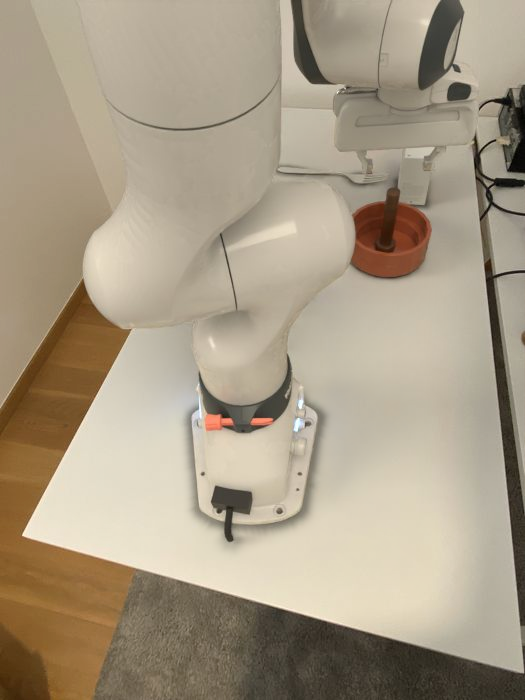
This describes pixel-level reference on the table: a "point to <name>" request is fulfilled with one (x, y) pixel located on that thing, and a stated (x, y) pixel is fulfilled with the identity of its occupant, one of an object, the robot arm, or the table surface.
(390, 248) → the masher
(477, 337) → the table surface
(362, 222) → the bowl
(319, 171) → the fork
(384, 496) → the table surface
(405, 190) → the small box
